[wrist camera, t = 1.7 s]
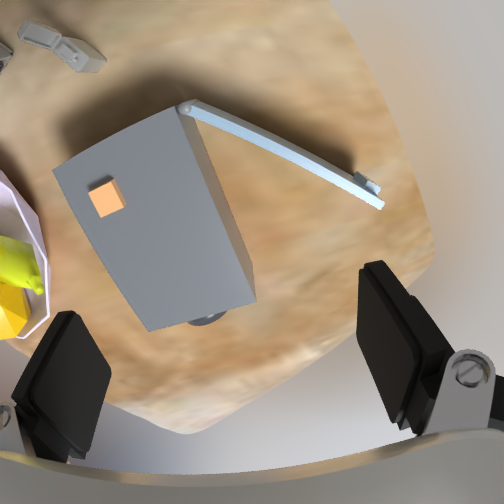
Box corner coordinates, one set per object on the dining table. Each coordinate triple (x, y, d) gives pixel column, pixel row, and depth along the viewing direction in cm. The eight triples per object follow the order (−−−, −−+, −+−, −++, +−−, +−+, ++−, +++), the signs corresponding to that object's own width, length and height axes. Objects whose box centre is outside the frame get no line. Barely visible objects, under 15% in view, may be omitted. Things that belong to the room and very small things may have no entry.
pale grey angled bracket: (107, 60, 24) (70, 55, 17) (96, 73, 24) (57, 73, 18) (66, 26, 21) (23, 17, 14) (56, 39, 22) (12, 34, 15)
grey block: (187, 101, 27) (171, 106, 20) (256, 274, 37) (262, 318, 30) (84, 151, 28) (47, 172, 22) (165, 302, 38) (154, 347, 32)
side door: (195, 90, 26) (185, 91, 20) (362, 173, 31) (389, 195, 25) (188, 106, 27) (176, 111, 21) (354, 186, 32) (379, 210, 26)
